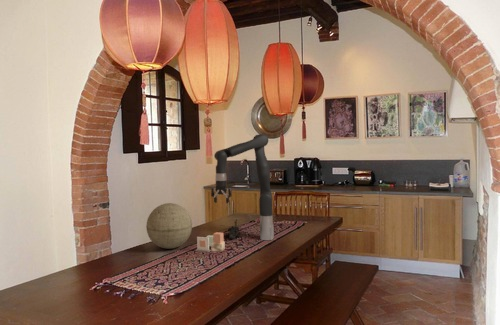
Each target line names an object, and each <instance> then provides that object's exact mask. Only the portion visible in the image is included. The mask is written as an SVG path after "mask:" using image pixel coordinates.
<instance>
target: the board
mask: <svg viewBox="0 0 500 325" xmlns="http://www.w3.org/2000/svg"><path fill="white" fill-rule="evenodd" d="M206 237H207V236H206ZM206 237H203V236H196V245H197V246H196V247H197V248H196V249H195V252H201V253H210V252H212V251H211V248H210V246H209V238H206Z"/></svg>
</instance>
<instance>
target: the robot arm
mask: <svg viewBox="0 0 500 325" xmlns="http://www.w3.org/2000/svg"><path fill="white" fill-rule="evenodd" d="M268 143H269V137H268V136H267V135H266V134H263V133H261V134H255V136H253V138H252V139H250V140H248V141H245V142H240V143H237V144H234V145H232V146H229V147H227V148H223V149H220V150H217V151H216V152H215V153H214V159H215V160H216V161H217V162H216V166H215V187H211V191H210V192H211V193H210V195H211V197H212V198H213V202H214V203H215V204H217V203H218V196H219V195H223V196H225V203H226V204H229V203H230V198H231V197H232V196H233V194H232V188H231V187H229V188H228V187H227V186H228V185H227V184H228V183H227V162H228V158H233V157H236V156H238V155H241V154H243V153H246V152H248V151H251V150H254V155H255V165H256V167H255V168H256V175H257V180H258V183H259V189H260V190H259V200H258V201H259V202H258V204H259V240H261V241H272V240H273V239H274V238H275V237H274V236H275V232H274V231H275V230H274V226H275V225H274V223H273V222H274V220H273V219H274V218H273V217H274V216H273V215H274V214H273V212H274V211H273V196H272V195H273V194H272V191H271V183H270V182H271V171H270V165H269V161H268V159H267V156H266V153H265V152H266V151H265V147H266V146H267V145H268Z"/></svg>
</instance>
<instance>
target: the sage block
mask: <svg viewBox="0 0 500 325" xmlns="http://www.w3.org/2000/svg"><path fill="white" fill-rule="evenodd" d="M206 238H209V247H211V243H213V234H212V235H210V234H208V235H207V236H206Z"/></svg>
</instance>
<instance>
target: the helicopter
mask: <svg viewBox="0 0 500 325" xmlns="http://www.w3.org/2000/svg"><path fill="white" fill-rule="evenodd" d="M237 220H238V219H237V218H236V219H235V220H234V223H233V224H234V225H232V226H228V227H226V228H223V229H221V230H218V231H217V232H221V231H224V230H227V231H228V232H225V233H224V235H225V236H224V238H228V239H231V240H232V239H233V240H234V239H235V238H236V239H238V238H241V234H242V233H241V232H239V231H240V229H241V230H245V231H247V228H241V227H240V224H238V225H237ZM247 224H248V223H245V225H247ZM242 225H244V223H243V224H241V226H242ZM221 226H223V227H224V225H222V224H221V225H220V227H221Z"/></svg>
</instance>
